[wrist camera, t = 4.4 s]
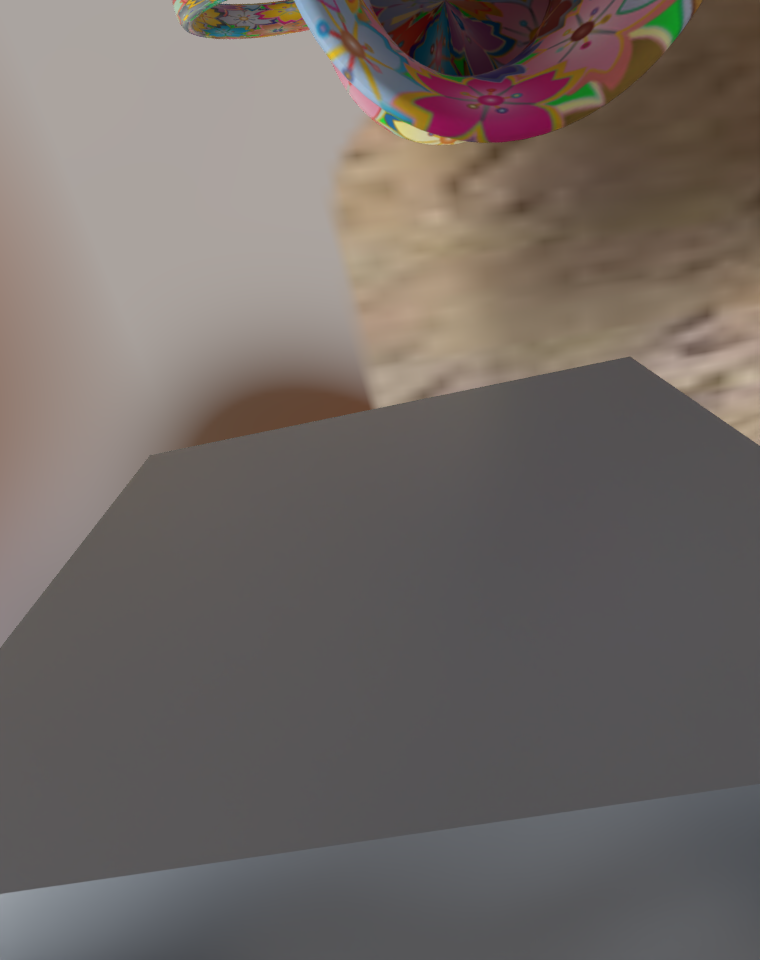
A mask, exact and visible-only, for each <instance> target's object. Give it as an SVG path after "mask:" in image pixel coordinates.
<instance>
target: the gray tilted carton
mask: <svg viewBox="0 0 760 960" xmlns="http://www.w3.org/2000/svg"><path fill="white" fill-rule="evenodd" d="M0 960H760V446H759V445H758V444H756V443H755V442H753V441H752V440H750V439H749V438H747V437H746V436H745V435H743V434H742V433H740V432H739V431H737V430H736V429H734V428H733V427H731V426H730V425H729V424H727V423H726V422H724V421H723V420H721V419H720V418H718V417H717V416H715V415H714V414H713V413H711V412H710V411H708V410H707V409H705V408H704V407H702V406H701V405H699V404H698V403H697V402H695V401H694V400H692V399H691V398H689V397H688V396H686V395H685V394H684V393H682V392H681V391H679V390H678V389H676V388H675V387H673V386H672V385H670V384H669V383H668V382H666V381H665V380H663V379H662V378H660V377H659V376H657V375H656V374H654V373H653V372H652V371H650V370H649V369H647V368H646V367H644V366H643V365H641V364H640V363H638V362H637V361H636V360H634V359H633V358H631V357H626V358H621V359H616V360H611V361H606V362H601V363H597V364H592V365H587V366H582V367H577V368H572V369H567V370H563V371H558V372H553V373H548V374H543V375H538V376H533V377H528V378H524V379H519V380H514V381H509V382H504V383H499V384H494V385H490V386H485V387H480V388H475V389H470V390H465V391H460V392H456V393H451V394H446V395H441V396H436V397H431V398H426V399H422V400H417V401H412V402H407V403H402V404H397V405H392V406H388V407H383V408H378V409H373V410H368V411H364V412H359V413H354V414H349V415H344V416H339V417H334V418H329V419H324V420H320V421H315V422H310V423H305V424H300V425H295V426H291V427H286V428H281V429H276V430H271V431H266V432H262V433H257V434H252V435H247V436H242V437H237V438H232V439H227V440H223V441H218V442H213V443H208V444H203V445H198V446H193V447H188V448H184V449H179V450H174V451H169V452H164V453H159V454H155V455H150V456H149V457H148V459H147V460H146V461H145V463H144V464H143V465H142V467H141V468H140V469H139V470H138V472H137V473H136V474H135V475H134V477H133V478H132V479H131V481H130V482H129V483H128V484H127V486H126V487H125V488H124V490H123V491H122V492H121V494H120V495H119V496H118V497H117V499H116V500H115V501H114V502H113V504H112V505H111V506H110V508H109V509H108V510H107V512H106V513H105V514H104V515H103V517H102V518H101V519H100V520H99V522H98V523H97V524H96V526H95V527H94V528H93V529H92V531H91V532H90V533H89V535H88V536H87V537H86V538H85V540H84V541H83V542H82V544H81V545H80V546H79V547H78V549H77V550H76V551H75V553H74V554H73V555H72V556H71V558H70V559H69V560H68V561H67V563H66V564H65V565H64V567H63V568H62V569H61V570H60V572H59V573H58V574H57V576H56V577H55V578H54V579H53V581H52V582H51V583H50V585H49V586H48V587H47V589H46V590H45V591H44V592H43V594H42V595H41V596H40V598H39V599H38V600H37V602H36V603H35V604H34V605H33V607H32V608H31V609H30V610H29V612H28V613H27V614H26V615H25V617H24V618H23V620H22V621H21V622H20V623H19V625H18V626H17V627H16V628H15V630H14V631H13V632H12V634H11V635H10V636H9V637H8V639H7V640H6V641H5V642H4V644H3V645H2V647H1V648H0Z"/></svg>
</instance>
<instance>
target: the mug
mask: <svg viewBox="0 0 760 960" xmlns="http://www.w3.org/2000/svg"><path fill="white" fill-rule="evenodd" d="M224 1H227V0H172V3H173V7H174V10H175V13H176V16H177V18H178V20H179V22H180V24H181V26H182V27H183V28H184V29H185V30H186V31H187V32H189V33H191V34H193V35H196V36H200V37H205V38H215V39H243V38H258V37H268V36H275V35H282V34H289V33H295V32H301V31H306V30H310V31H311V33H312V34H313V36H314V38H315V39H316V41H317V42H318V44H319V45H320V46H321V48H322V49H323V50H324V52H325V53H326V55H327V56H328V57H329V59H330V60H331V62H332V64H333V67H334V69H335V71H336V73H337V75H338V77H339V79H340V80H341V82H342V84H343V85H344V87H345V89H346V90H347V92H348V93H349V94H350V96H351V97H352V98H353V100H354V101H355V102H356V103H357V105H359V107H360V108H361V109H362V110H363V111H364V112H365V113H366V114H367V115H368V116H369V117H370V118H371V119H372V120H374V121H375V122H376V123H378V124H379V125H380V126H382V127H383V128H385V129H387V130H388V131H390V132H392V133H393V134H396V135H398V136H400V137H402V138H405V139H408V140H411V141H414V142H418V143H423V144H430V145H452V144H459V143H464V142H479V143H492V142H508V141H515V140H523V139H527V138H531V137H535V136H539V135H543V134H546V133H549V132H551V131H554V130H557V129H560V128H562V127H565V126H567V125H569V124H572V123H574V122H576V121H578V120H580V119H582V118H584V117H586V116H588V115H589V114H591V113H593V112H594V111H596V110H598V109H599V108H601V107H603V106H604V105H606V104H607V103H609V102H610V101H611V100H613V99H614V98H615V97H617V96H618V95H619V94H621V93H622V92H623V91H625V90H626V89H627V88H628V87H630V86H631V85H632V84H633V83H634V82H635V81H636V80H637V79H639V78H640V77H641V76H642V75H643V74H644V73H645V72H646V71H647V70H648V69H649V68H650V67H651V66H652V65H653V64H654V63H655V62H656V61H657V60H658V59H659V58H660V57H661V56H662V55H663V54H664V52H665V51H666V50H667V49H668V48H669V46H670V45H671V44H672V43H673V41H674V40H675V39H676V38H677V37H678V35H679V34H680V33H681V32H682V30H683V29H684V27H685V26H686V25H687V23H688V22H689V20H690V19H691V17H692V16H693V15H694V13H695V12H696V10H697V9H698V7H699V6H700V4H701V2H702V1H703V0H285V1H278V2H269V3H258V4H220V3H222V2H224Z"/></svg>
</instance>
